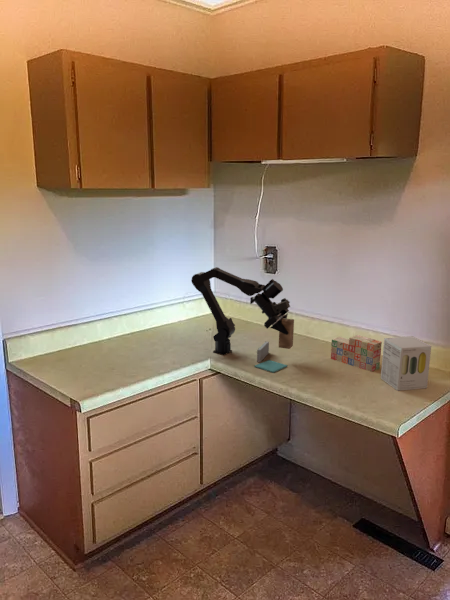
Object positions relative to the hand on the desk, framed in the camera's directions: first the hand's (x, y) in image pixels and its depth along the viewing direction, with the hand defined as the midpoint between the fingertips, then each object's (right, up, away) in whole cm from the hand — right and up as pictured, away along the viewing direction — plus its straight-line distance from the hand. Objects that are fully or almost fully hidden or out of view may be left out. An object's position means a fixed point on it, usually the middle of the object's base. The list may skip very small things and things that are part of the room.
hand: (289, 332), depth 236 cm
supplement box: (+43, -19, -20) cm, 51 cm away
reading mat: (-8, -14, -3) cm, 17 cm away
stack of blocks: (+29, -14, +2) cm, 32 cm away
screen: (-11, -12, +8) cm, 18 cm away
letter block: (-1, -6, +2) cm, 7 cm away
